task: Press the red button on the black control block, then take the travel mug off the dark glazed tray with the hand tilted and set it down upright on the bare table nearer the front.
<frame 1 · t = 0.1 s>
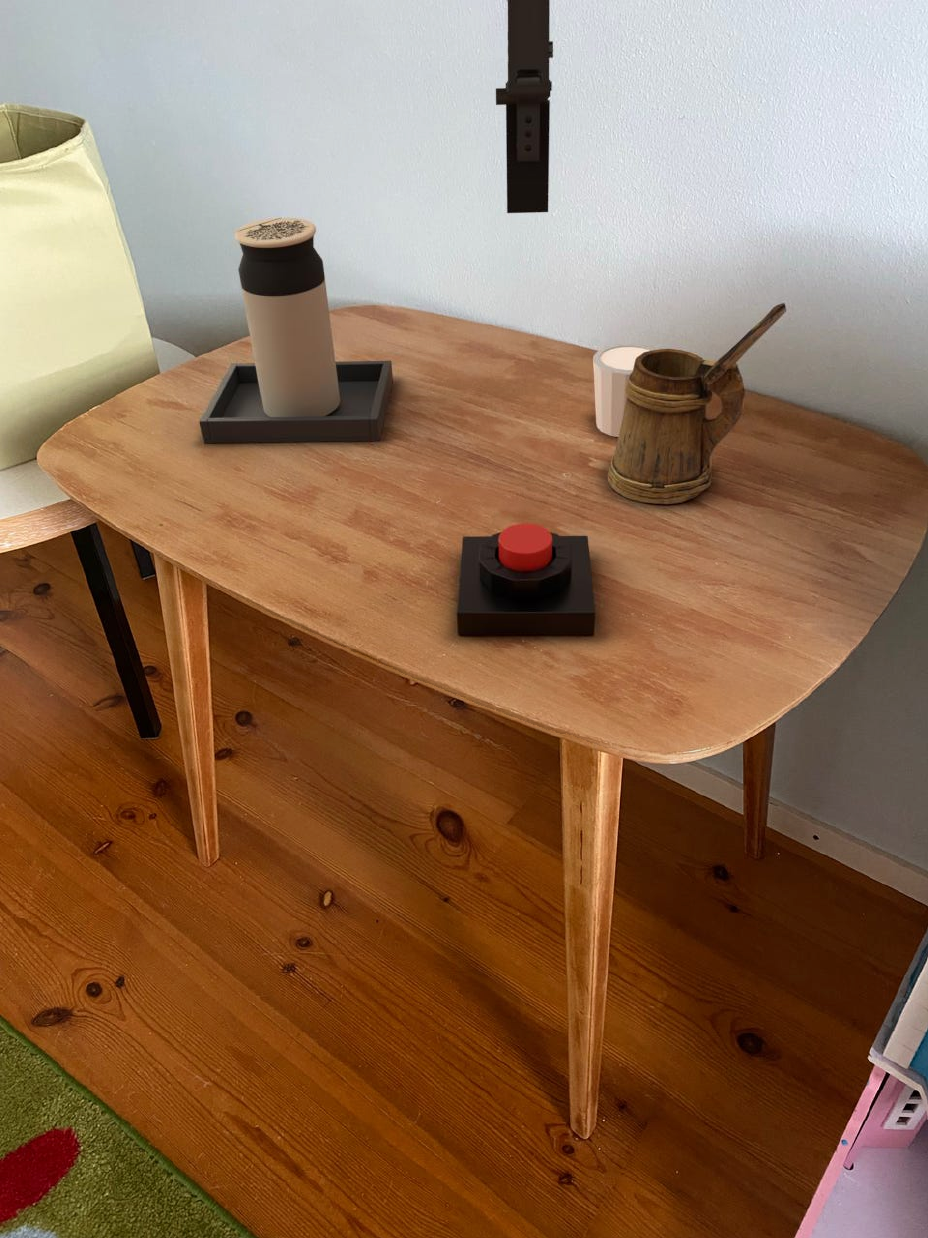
hand: (526, 183, 70), 27 cm above the table, tool pointing down, fingers open, 13 cm apart
travel mug: (302, 408, 103), resting on tray
white cup: (624, 426, 98), on the table
wooden mug: (680, 488, 88), on the table
button: (525, 547, 74), point 4 cm above the table, slide at 0.1 cm
tray: (302, 410, 103), on the table
control block: (525, 595, 76), on the table
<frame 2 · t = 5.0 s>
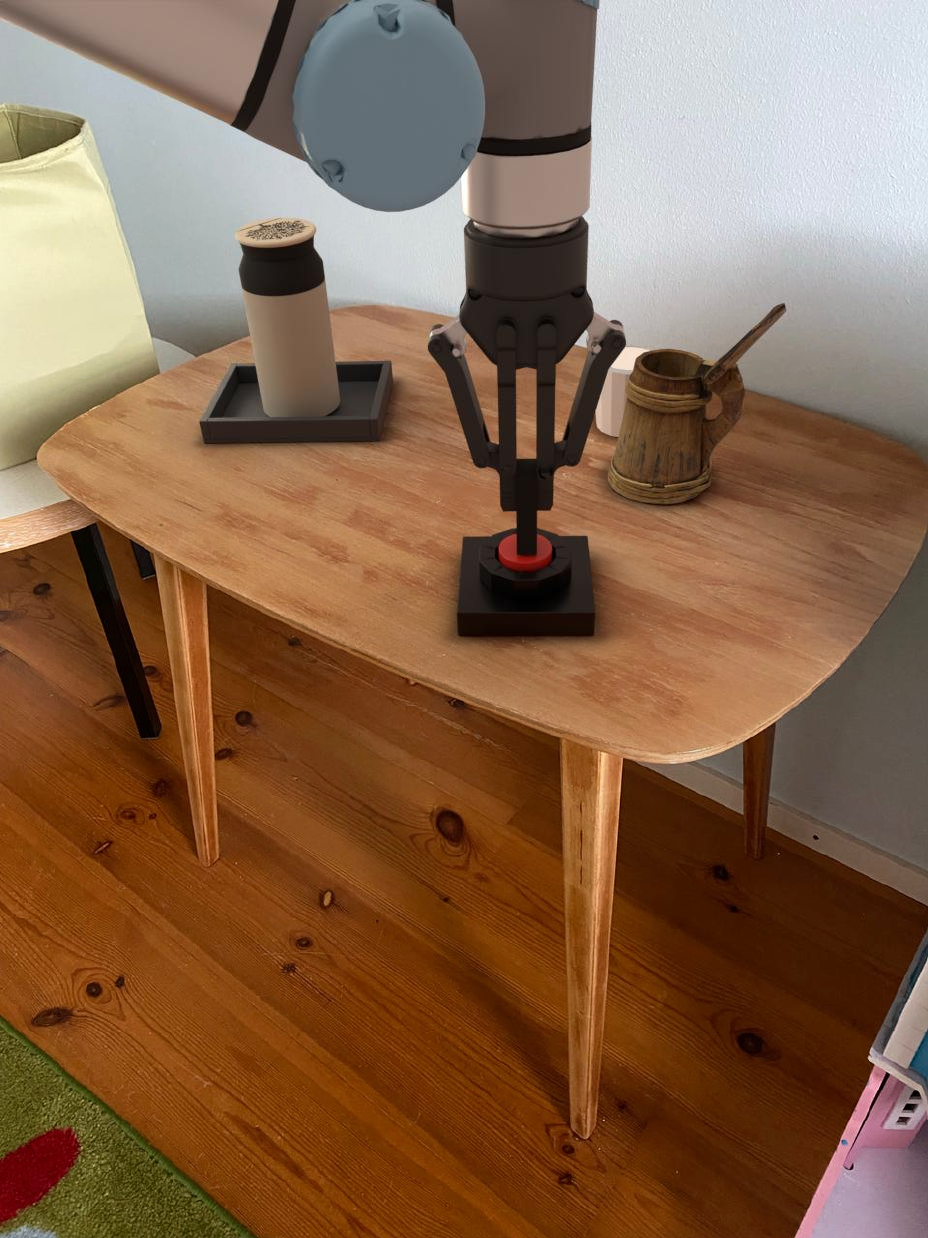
hand: (526, 544, 73), 5 cm above the table, tool pointing down, fingers closed
button: (525, 556, 74), point 4 cm above the table, slide at -0.8 cm, touching gripper
everything else where it was.
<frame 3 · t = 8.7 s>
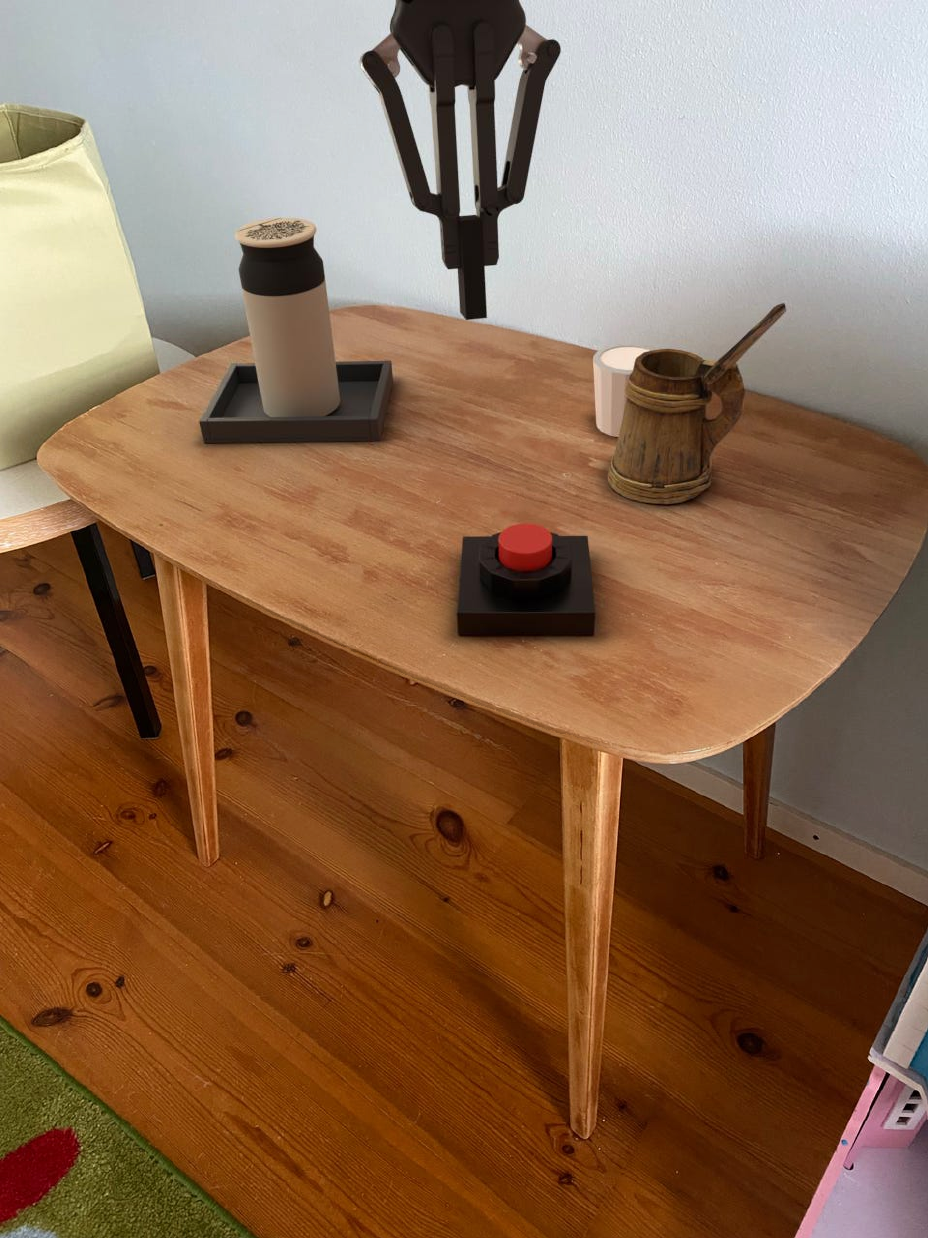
hand: (473, 314, 70), 20 cm above the table, tool pointing down, fingers closed
button: (525, 547, 74), point 4 cm above the table, slide at 0.1 cm
everything else where it was.
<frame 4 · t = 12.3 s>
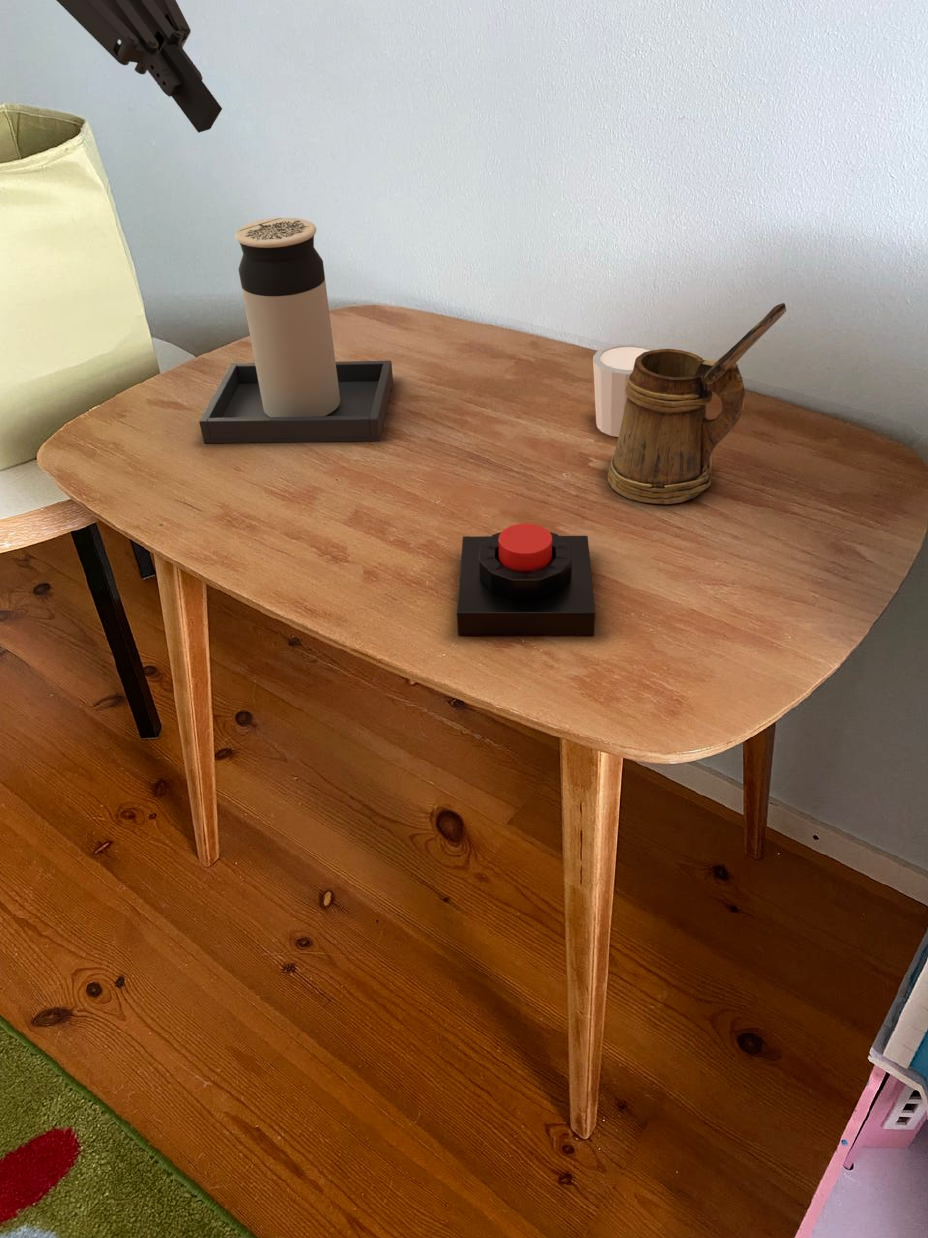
hand: (210, 120, 87), 27 cm above the table, tool tilted 45°, fingers closed
nothing on the table moved.
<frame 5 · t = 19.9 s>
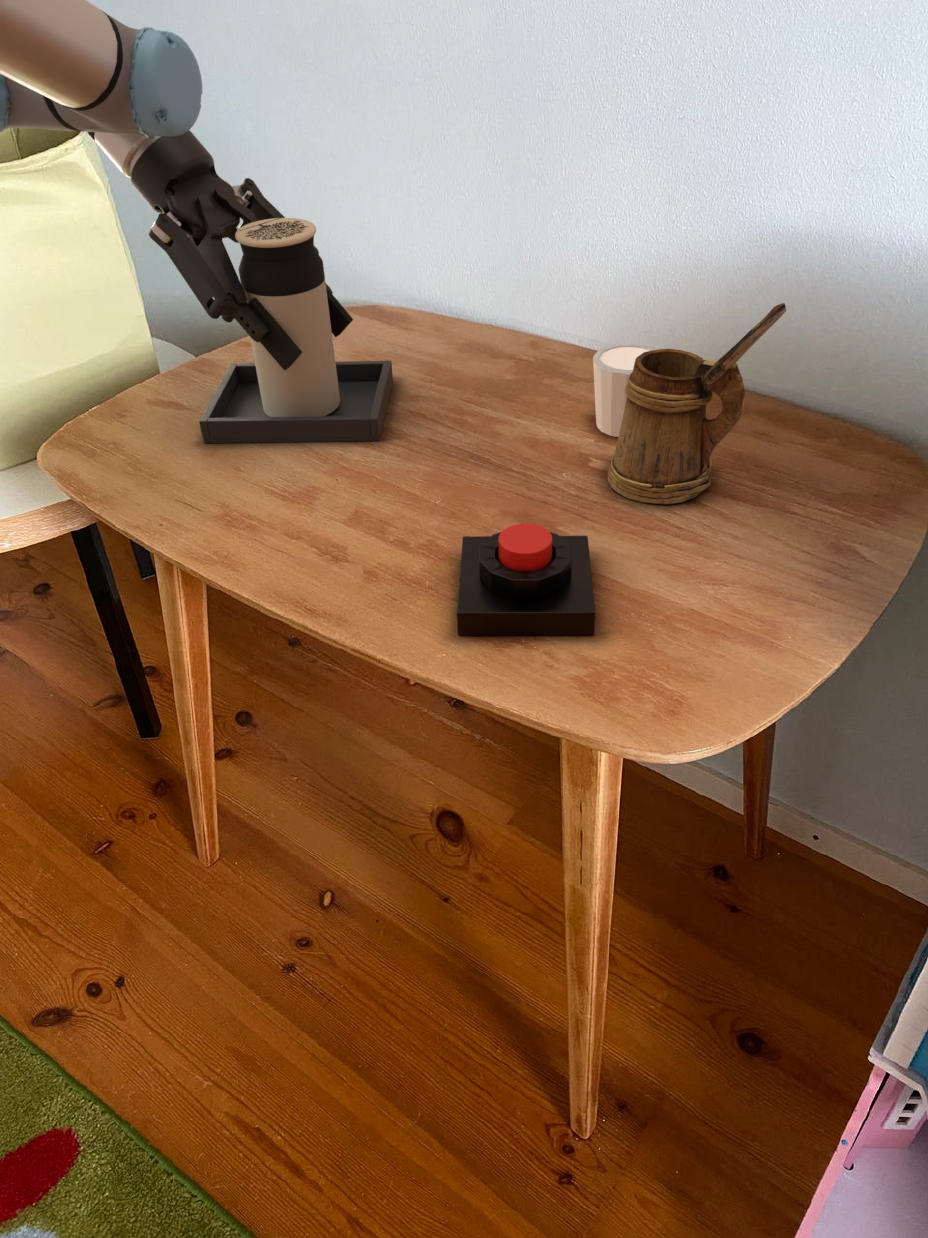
hand: (319, 344, 97), 8 cm above the table, tool tilted 45°, fingers closed on travel mug, 8 cm apart
travel mug: (302, 408, 103), resting on tray, touching gripper
everything else where it was.
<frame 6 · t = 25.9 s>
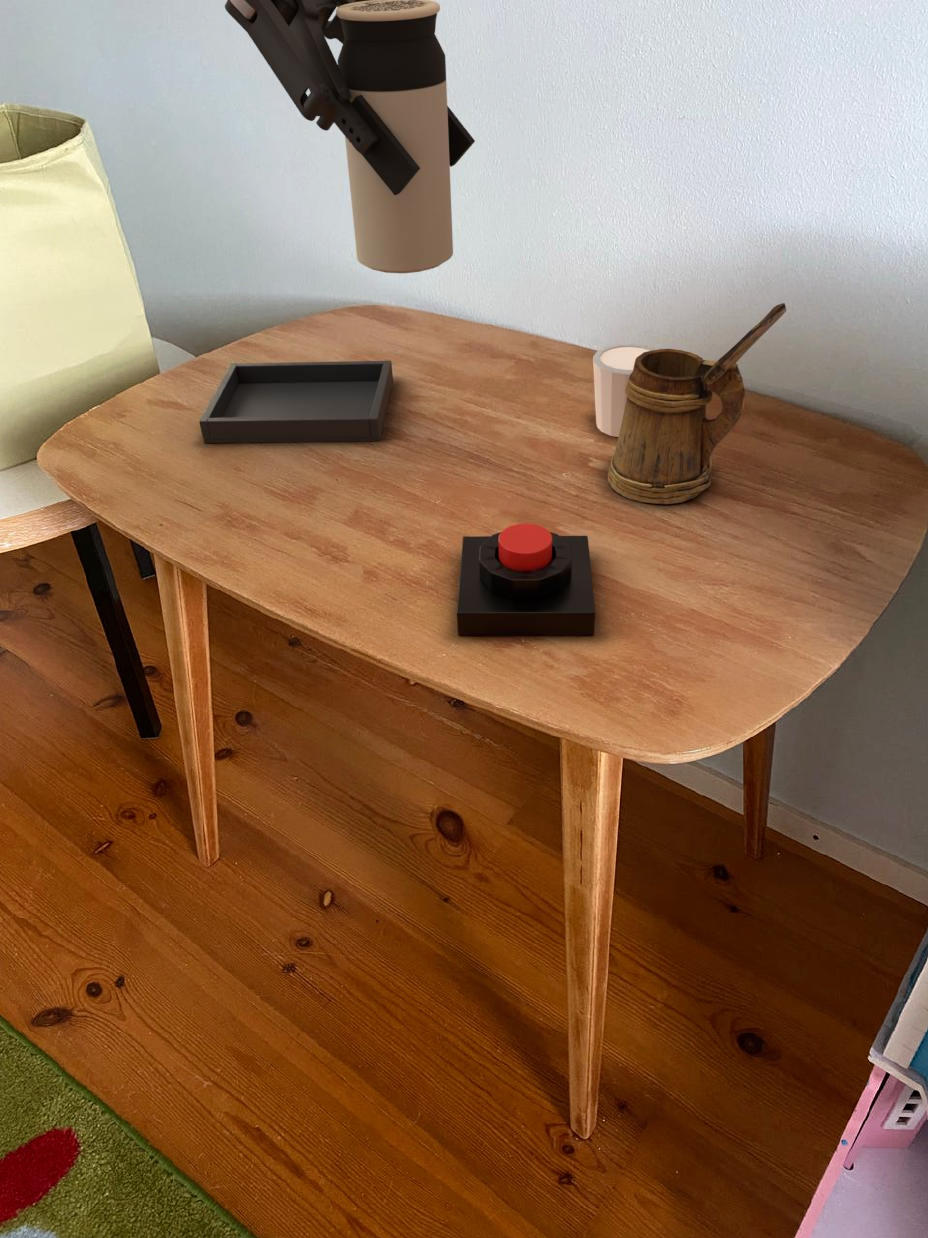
hand: (436, 167, 76), 26 cm above the table, tool tilted 45°, fingers closed on travel mug, 8 cm apart
travel mug: (405, 261, 82), point 19 cm above the table, touching gripper
everything else where it was.
when the fingers open (7 cm above the table, at t = 32.0 s): travel mug stays where it is, on the table.
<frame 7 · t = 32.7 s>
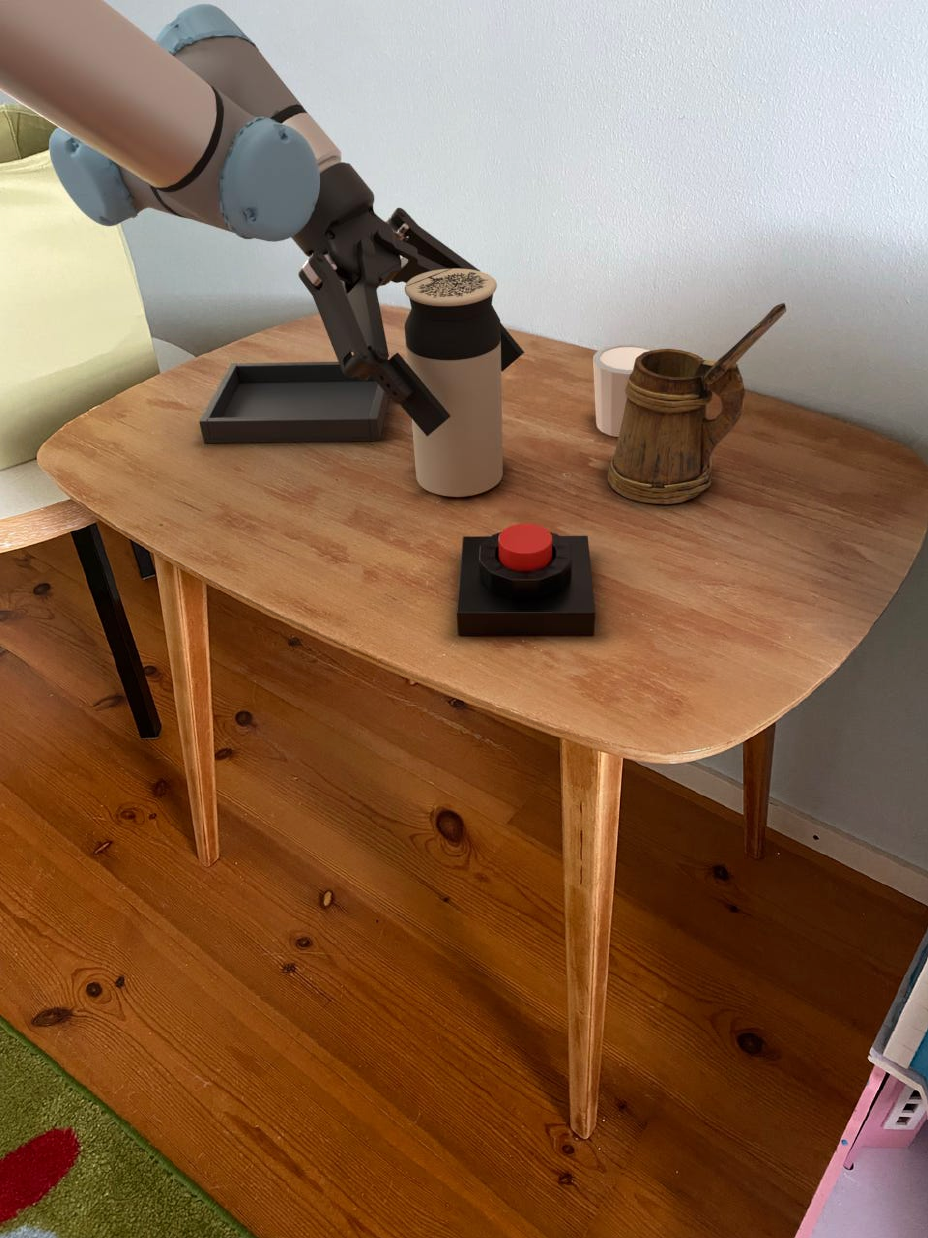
hand: (478, 393, 84), 9 cm above the table, tool tilted 45°, fingers open, 13 cm apart
travel mug: (459, 479, 91), on the table
everything else where it was.
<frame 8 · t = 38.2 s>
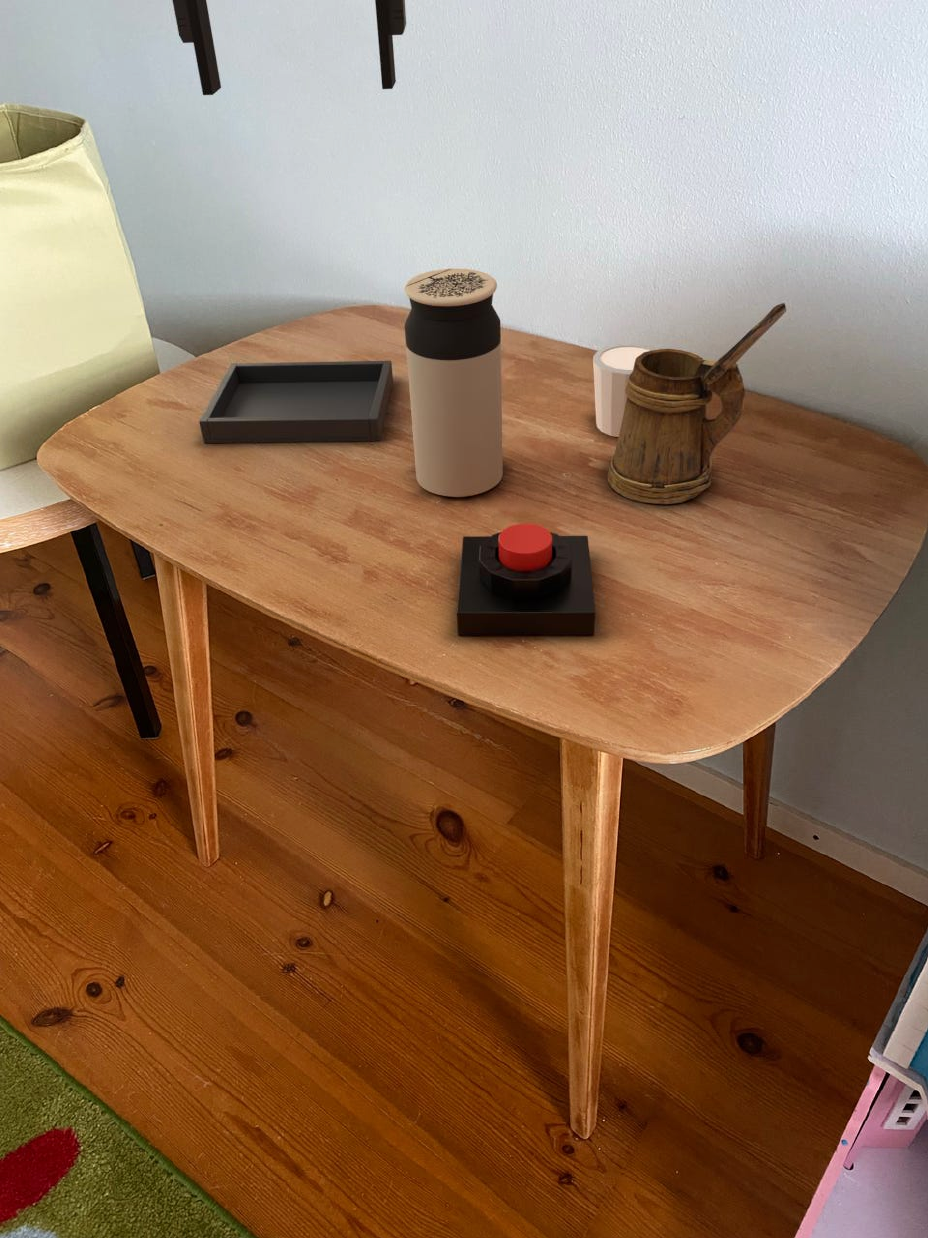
hand: (300, 88, 75), 32 cm above the table, tool pointing down, fingers open, 13 cm apart
nothing on the table moved.
at the end: button pushed in 1.0 cm at the most during the clip, back to where it started at the end; travel mug inside the target area (0.0 cm from its centre), on the table; travel mug tilted 0° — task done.
